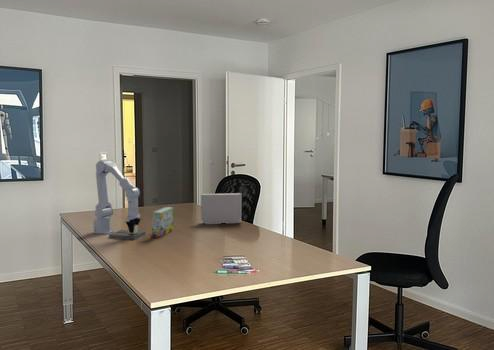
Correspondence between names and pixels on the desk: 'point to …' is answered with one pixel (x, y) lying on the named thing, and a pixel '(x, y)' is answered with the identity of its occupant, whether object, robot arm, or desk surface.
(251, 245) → the desk surface
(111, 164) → the robot arm
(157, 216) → the snack box
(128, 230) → the fader cap
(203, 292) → the desk surface
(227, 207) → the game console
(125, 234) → the console panel
